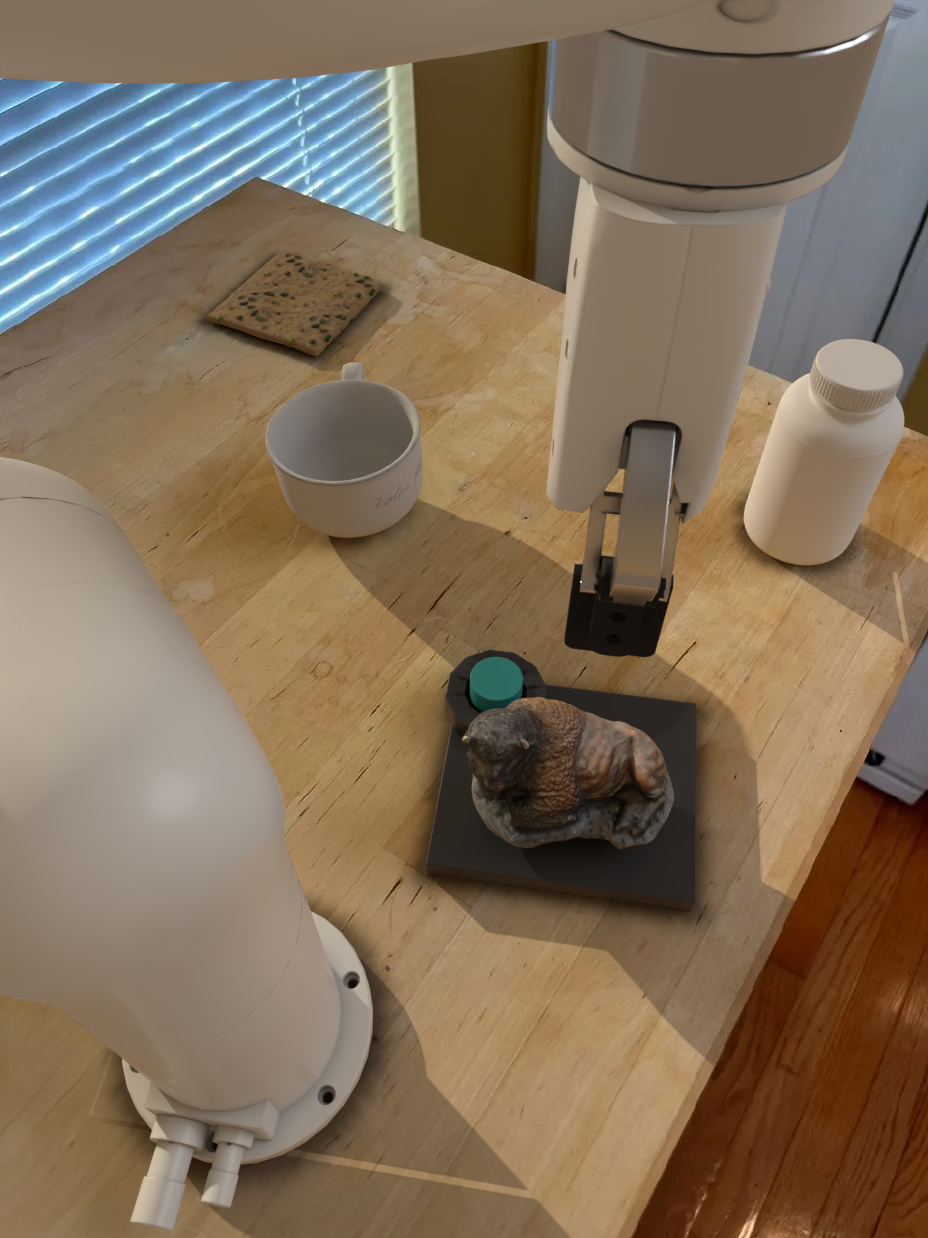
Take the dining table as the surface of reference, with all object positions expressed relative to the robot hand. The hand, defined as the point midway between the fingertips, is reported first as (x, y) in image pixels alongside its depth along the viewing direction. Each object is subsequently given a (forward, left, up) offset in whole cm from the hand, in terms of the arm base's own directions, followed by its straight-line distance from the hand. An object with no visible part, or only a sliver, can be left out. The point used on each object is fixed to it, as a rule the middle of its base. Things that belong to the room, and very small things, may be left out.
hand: (615, 545), depth 36 cm
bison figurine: (0, 0, -23) cm, 23 cm away
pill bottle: (+26, -15, -24) cm, 39 cm away
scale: (+2, 0, -24) cm, 24 cm away
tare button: (+7, +5, -22) cm, 23 cm away
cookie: (+48, +29, -24) cm, 61 cm away
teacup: (+25, +18, -24) cm, 39 cm away
